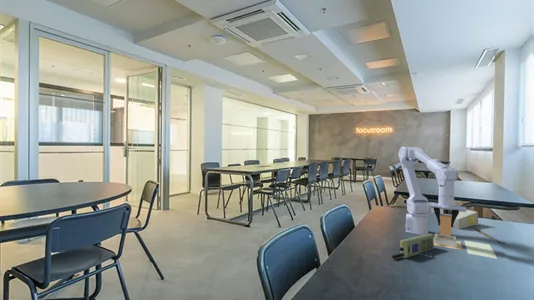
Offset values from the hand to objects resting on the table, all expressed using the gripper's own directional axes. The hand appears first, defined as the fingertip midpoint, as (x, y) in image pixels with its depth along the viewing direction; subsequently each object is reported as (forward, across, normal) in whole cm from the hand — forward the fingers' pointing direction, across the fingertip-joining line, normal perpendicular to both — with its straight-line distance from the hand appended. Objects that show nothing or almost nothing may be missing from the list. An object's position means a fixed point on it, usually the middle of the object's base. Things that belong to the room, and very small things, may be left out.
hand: (445, 225), depth 120 cm
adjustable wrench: (+9, +19, +26) cm, 34 cm away
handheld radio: (+9, -11, -20) cm, 25 cm away
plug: (+3, 0, 0) cm, 3 cm away
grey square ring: (+8, 0, 0) cm, 8 cm away
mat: (+8, +12, 0) cm, 14 cm away
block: (+9, +8, +41) cm, 43 cm away
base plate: (+8, 0, 0) cm, 8 cm away
